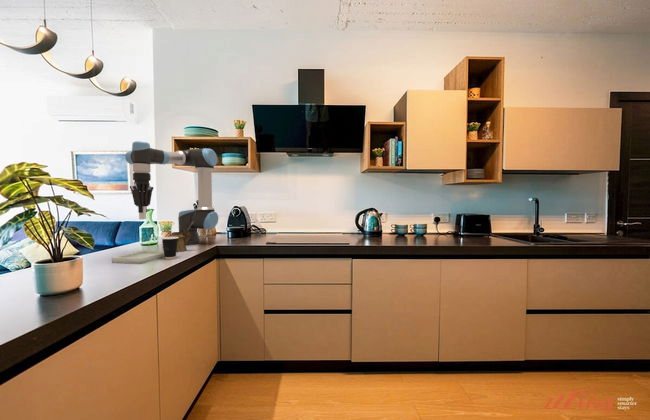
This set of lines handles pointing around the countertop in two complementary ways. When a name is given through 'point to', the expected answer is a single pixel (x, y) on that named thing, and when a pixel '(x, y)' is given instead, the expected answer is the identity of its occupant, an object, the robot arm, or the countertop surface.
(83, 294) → the countertop surface
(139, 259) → the sage tray
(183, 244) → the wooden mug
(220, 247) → the countertop surface
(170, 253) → the dixie cup
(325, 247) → the countertop surface
